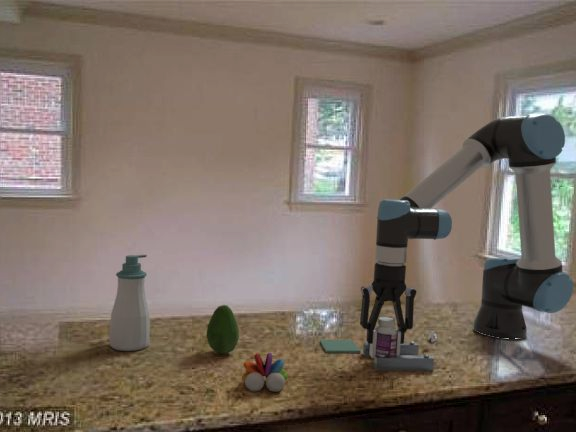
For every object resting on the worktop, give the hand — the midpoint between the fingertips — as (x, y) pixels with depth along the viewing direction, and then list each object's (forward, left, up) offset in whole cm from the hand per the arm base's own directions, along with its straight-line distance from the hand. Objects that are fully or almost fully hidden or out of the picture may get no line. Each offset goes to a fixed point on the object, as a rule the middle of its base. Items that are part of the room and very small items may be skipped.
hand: (384, 356), depth 137 cm
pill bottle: (0, 0, 0) cm, 1 cm away
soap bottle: (+63, -11, -2) cm, 64 cm away
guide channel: (-3, 0, -1) cm, 4 cm away
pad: (+9, -11, -1) cm, 14 cm away
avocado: (+40, -6, -2) cm, 40 cm away
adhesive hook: (-21, -18, -2) cm, 27 cm away
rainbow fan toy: (+31, +15, -2) cm, 34 cm away
